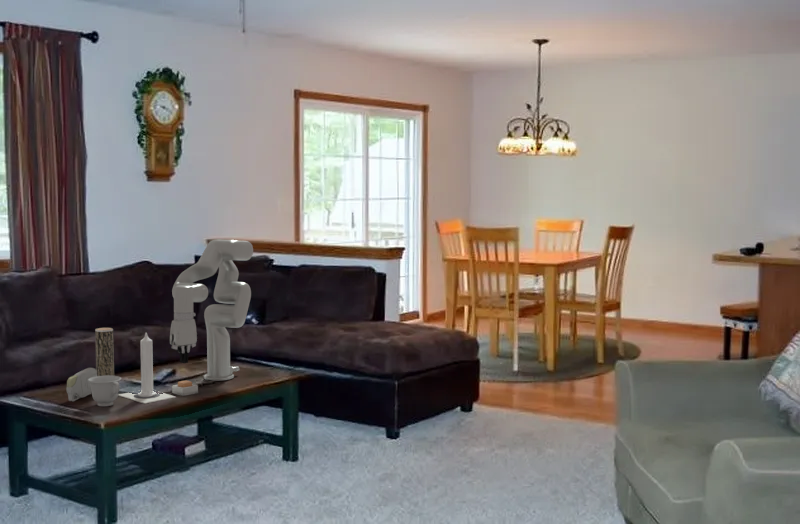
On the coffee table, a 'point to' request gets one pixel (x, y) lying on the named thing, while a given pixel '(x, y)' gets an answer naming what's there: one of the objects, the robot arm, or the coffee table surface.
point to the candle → (146, 368)
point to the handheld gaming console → (80, 384)
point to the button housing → (185, 390)
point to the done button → (185, 383)
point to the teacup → (105, 389)
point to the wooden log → (104, 351)
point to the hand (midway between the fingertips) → (184, 362)
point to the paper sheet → (146, 399)
